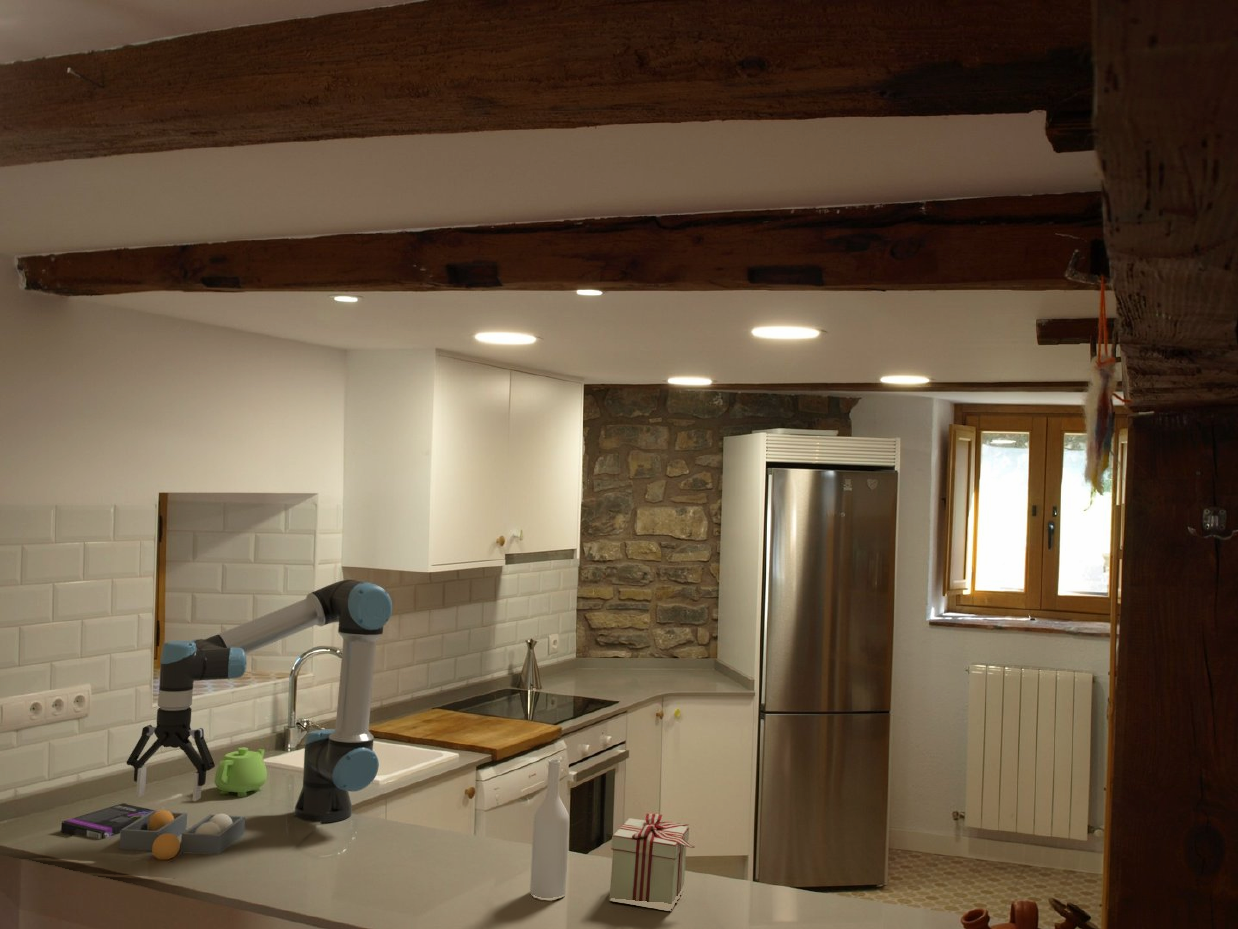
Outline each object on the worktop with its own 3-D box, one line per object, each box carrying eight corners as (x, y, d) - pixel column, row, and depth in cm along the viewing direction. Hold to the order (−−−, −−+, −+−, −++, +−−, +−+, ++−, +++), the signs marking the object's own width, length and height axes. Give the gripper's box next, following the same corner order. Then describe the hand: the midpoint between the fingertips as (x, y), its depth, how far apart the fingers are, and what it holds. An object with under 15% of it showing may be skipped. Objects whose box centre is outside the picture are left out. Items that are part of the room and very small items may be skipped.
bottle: (536, 903, 231) (543, 766, 232) (525, 890, 238) (531, 757, 239) (570, 899, 234) (577, 764, 235) (558, 886, 241) (564, 755, 242)
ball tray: (243, 836, 265) (245, 816, 265) (205, 867, 243) (206, 845, 243) (145, 830, 266) (146, 810, 267) (98, 860, 244) (99, 838, 244)
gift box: (690, 915, 228) (693, 836, 229) (607, 906, 231) (611, 827, 232) (698, 888, 245) (701, 813, 245) (620, 879, 248) (624, 806, 249)
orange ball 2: (183, 856, 249) (185, 830, 250) (171, 865, 243) (173, 839, 244) (158, 854, 250) (160, 829, 250) (146, 863, 244) (148, 837, 244)
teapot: (243, 780, 316) (245, 738, 316) (281, 786, 312) (283, 743, 312) (197, 797, 297) (200, 752, 297) (237, 803, 293) (240, 758, 293)
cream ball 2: (235, 835, 264) (237, 811, 264) (226, 843, 258) (227, 818, 258) (212, 834, 264) (214, 810, 265) (202, 841, 258) (203, 817, 259)
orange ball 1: (177, 831, 265) (179, 808, 265) (166, 839, 259) (168, 815, 259) (154, 830, 265) (156, 806, 265) (143, 838, 259) (144, 813, 259)
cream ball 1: (224, 844, 257) (225, 819, 257) (213, 852, 251) (215, 827, 251) (200, 843, 257) (202, 818, 258) (189, 851, 251) (191, 825, 252)
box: (100, 846, 256) (163, 823, 274) (101, 832, 256) (163, 810, 274) (59, 835, 262) (123, 814, 280) (60, 821, 262) (124, 801, 280)
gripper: (232, 707, 251) (226, 796, 250) (131, 701, 252) (125, 789, 251) (219, 713, 244) (213, 805, 243) (115, 707, 245) (108, 798, 244)
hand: (168, 797), depth 247 cm, fingers open, 13 cm apart
